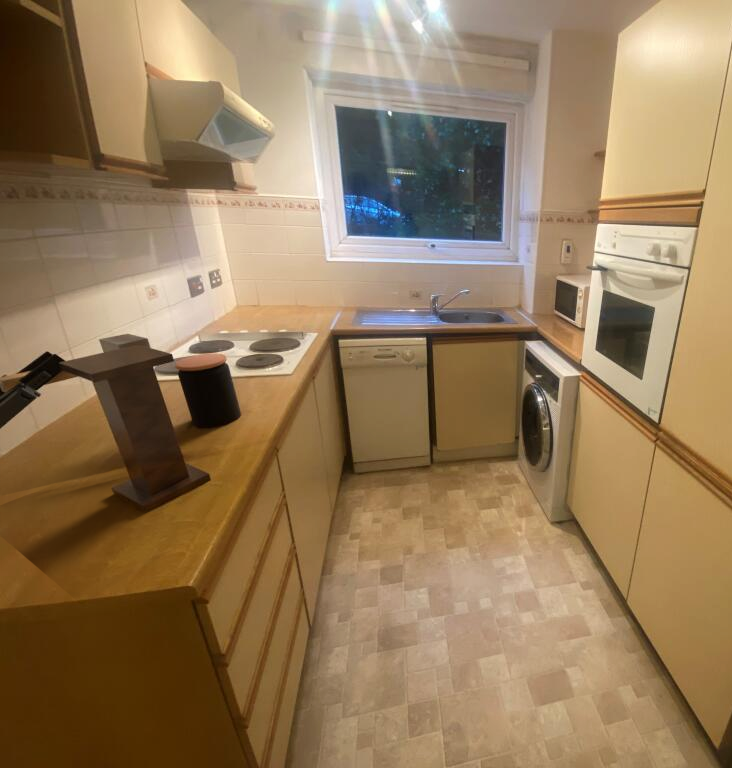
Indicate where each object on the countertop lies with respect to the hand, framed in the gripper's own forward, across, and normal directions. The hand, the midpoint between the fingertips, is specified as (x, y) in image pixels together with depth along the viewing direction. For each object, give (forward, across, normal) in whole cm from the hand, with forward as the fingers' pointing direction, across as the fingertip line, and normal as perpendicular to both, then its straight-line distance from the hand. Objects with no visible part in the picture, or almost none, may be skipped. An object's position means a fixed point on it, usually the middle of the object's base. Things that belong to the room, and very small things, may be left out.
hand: (58, 357), depth 80 cm
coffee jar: (+9, +6, +37) cm, 38 cm away
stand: (-10, -12, +26) cm, 30 cm away
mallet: (0, 0, +5) cm, 5 cm away
